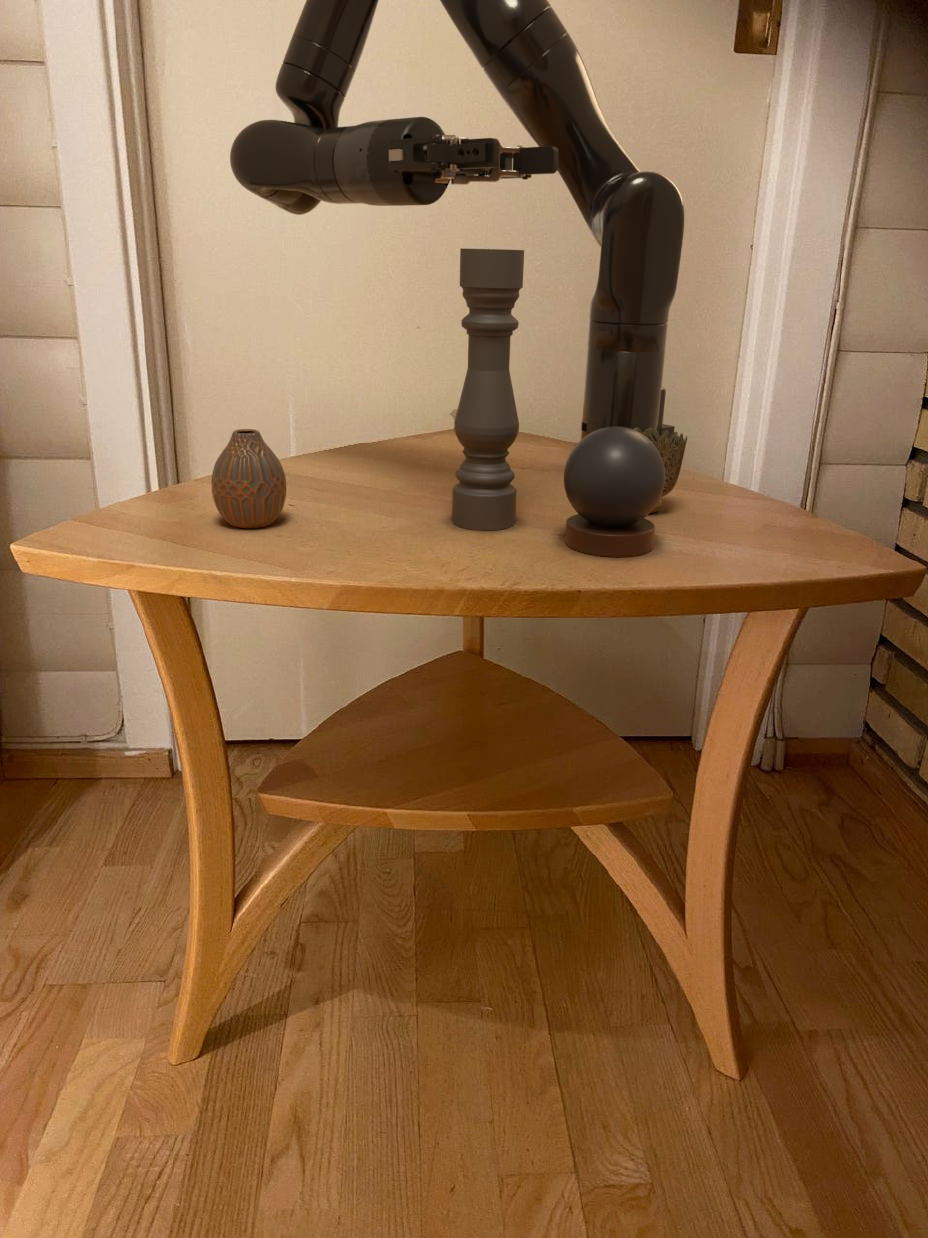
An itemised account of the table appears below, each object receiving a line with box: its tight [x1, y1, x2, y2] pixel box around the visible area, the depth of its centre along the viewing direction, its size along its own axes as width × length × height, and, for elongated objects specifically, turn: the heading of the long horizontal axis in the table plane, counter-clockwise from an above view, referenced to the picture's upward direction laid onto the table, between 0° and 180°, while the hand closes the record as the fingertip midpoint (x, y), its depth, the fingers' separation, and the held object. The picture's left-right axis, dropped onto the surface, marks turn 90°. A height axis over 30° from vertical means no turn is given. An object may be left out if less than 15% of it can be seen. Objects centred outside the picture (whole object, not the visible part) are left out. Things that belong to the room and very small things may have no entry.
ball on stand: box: [563, 427, 665, 558], centre depth 86 cm, size 9×9×11 cm
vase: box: [210, 428, 287, 529], centre depth 90 cm, size 7×7×9 cm
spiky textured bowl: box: [633, 427, 688, 514], centre depth 98 cm, size 8×7×8 cm
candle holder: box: [451, 248, 525, 531], centre depth 90 cm, size 6×6×25 cm
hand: (527, 156), depth 83 cm, fingers open, 8 cm apart
